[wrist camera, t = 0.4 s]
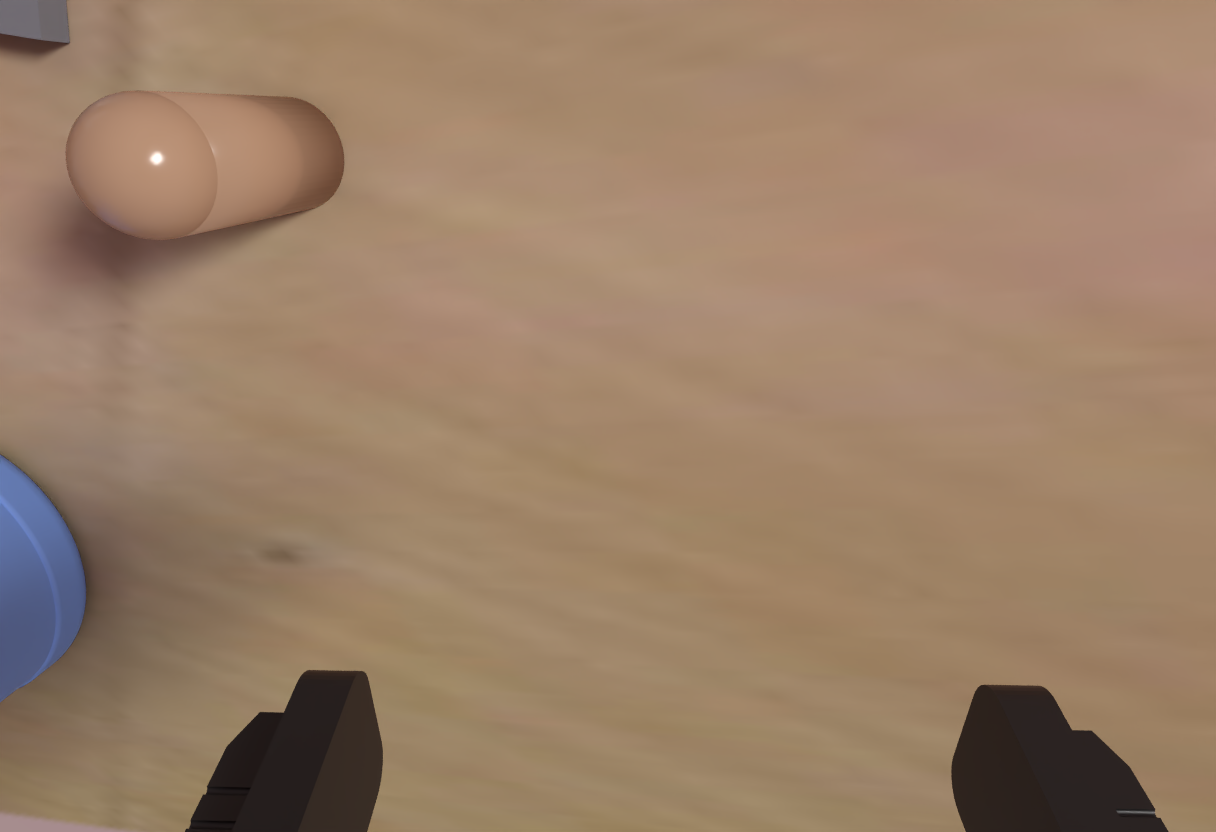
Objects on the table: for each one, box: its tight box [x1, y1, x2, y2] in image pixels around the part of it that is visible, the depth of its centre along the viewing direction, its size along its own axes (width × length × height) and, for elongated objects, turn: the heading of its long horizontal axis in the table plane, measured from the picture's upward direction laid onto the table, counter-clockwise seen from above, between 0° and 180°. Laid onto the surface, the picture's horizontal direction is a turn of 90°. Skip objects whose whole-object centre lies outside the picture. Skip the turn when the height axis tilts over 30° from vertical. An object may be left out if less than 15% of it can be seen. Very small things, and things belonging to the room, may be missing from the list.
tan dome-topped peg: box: [66, 91, 344, 240], centre depth 30 cm, size 5×5×11 cm
